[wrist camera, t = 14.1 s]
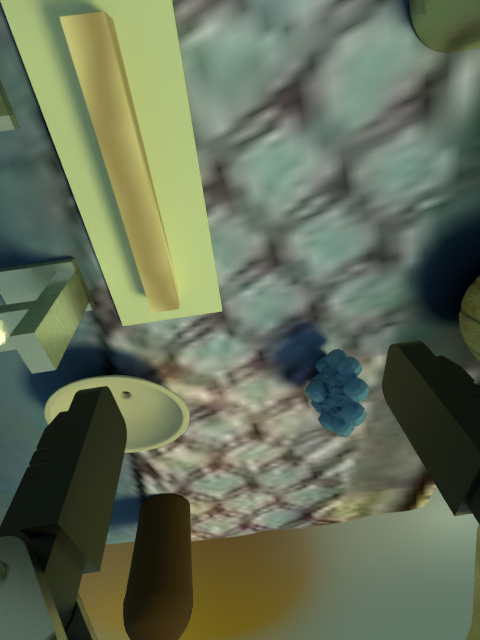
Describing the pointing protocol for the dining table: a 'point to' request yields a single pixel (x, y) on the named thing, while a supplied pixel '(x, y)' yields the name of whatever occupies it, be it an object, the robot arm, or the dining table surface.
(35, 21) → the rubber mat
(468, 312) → the cantaloupe
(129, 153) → the birch batten
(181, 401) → the dish
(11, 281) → the hook rack
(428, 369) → the robot arm
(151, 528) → the olive oil
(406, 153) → the dining table surface
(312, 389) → the grapes
